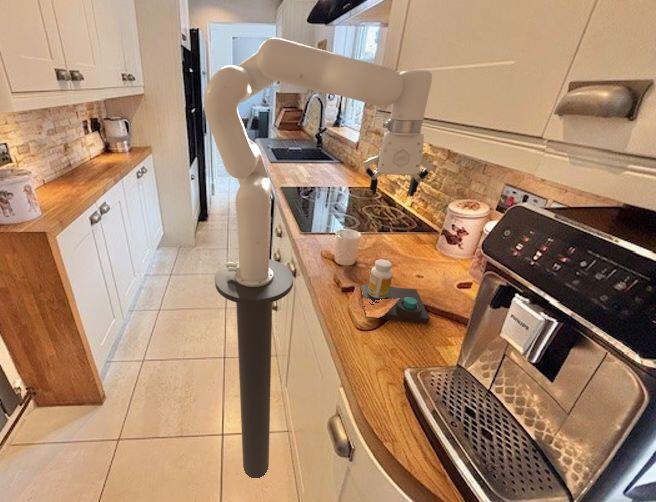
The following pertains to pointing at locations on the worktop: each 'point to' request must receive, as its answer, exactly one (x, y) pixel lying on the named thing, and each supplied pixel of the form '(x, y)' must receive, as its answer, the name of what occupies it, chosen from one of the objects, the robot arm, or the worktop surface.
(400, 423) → the worktop surface
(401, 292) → the scale
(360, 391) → the worktop surface
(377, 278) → the supplement bottle
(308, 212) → the worktop surface
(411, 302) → the button
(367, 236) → the worktop surface
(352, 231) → the white cup
